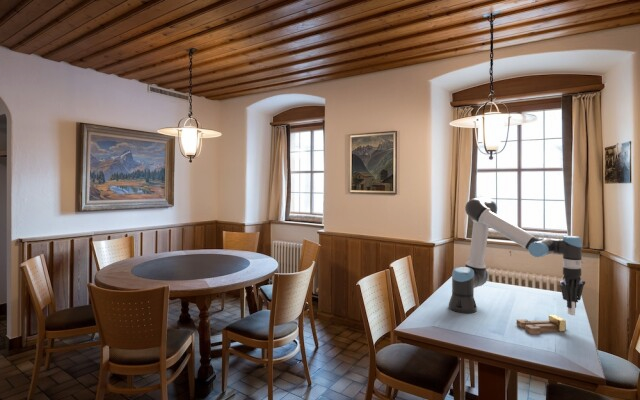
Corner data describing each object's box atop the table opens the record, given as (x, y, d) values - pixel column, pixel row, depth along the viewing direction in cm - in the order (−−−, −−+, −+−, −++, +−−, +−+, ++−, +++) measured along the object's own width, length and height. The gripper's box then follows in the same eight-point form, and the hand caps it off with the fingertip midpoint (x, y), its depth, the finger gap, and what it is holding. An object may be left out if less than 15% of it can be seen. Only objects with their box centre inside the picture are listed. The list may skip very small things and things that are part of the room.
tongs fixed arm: (524, 330, 176) (525, 324, 175) (559, 328, 178) (559, 323, 178) (530, 334, 171) (531, 328, 171) (565, 332, 173) (566, 326, 173)
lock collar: (548, 325, 181) (548, 315, 180) (553, 325, 181) (554, 314, 181) (559, 331, 173) (560, 320, 173) (565, 331, 174) (565, 320, 174)
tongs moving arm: (516, 324, 183) (516, 319, 182) (558, 324, 183) (559, 319, 183) (523, 329, 176) (523, 324, 176) (567, 328, 177) (567, 323, 177)
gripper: (566, 269, 172) (565, 317, 173) (590, 268, 173) (589, 316, 174) (554, 266, 179) (553, 312, 180) (577, 265, 181) (577, 311, 182)
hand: (571, 314), depth 177 cm, fingers closed
